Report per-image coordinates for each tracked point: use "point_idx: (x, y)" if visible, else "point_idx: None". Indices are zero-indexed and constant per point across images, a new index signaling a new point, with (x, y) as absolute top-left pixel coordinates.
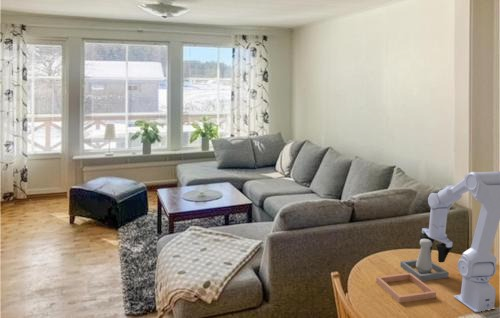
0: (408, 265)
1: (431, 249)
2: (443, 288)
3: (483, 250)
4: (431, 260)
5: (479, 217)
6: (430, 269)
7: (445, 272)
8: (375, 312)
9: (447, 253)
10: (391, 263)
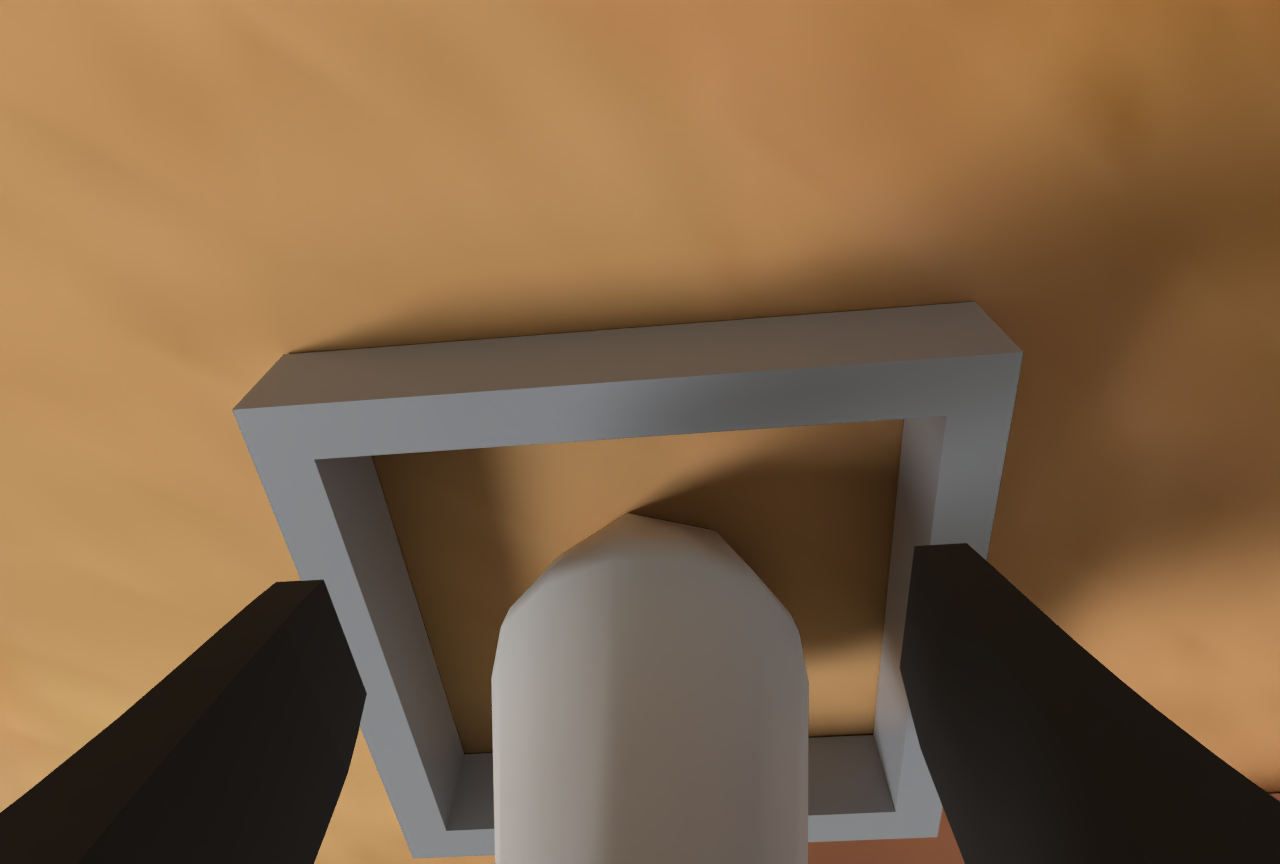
0: None
1: (253, 663)
2: (1237, 597)
3: None
4: (760, 746)
5: None
6: (797, 632)
7: (997, 421)
8: None
9: (1271, 835)
10: (342, 831)
